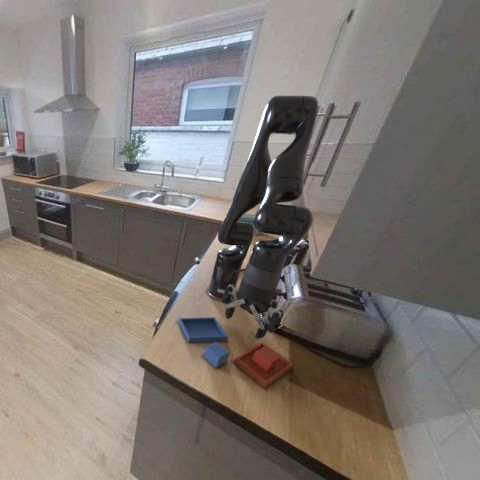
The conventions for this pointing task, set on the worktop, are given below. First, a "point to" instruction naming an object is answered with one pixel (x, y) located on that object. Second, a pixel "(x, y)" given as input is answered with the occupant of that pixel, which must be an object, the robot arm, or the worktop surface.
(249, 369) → the rust tray
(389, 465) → the worktop surface
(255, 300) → the robot arm
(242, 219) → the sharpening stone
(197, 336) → the blue tray
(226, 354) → the blue block
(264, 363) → the rust block
